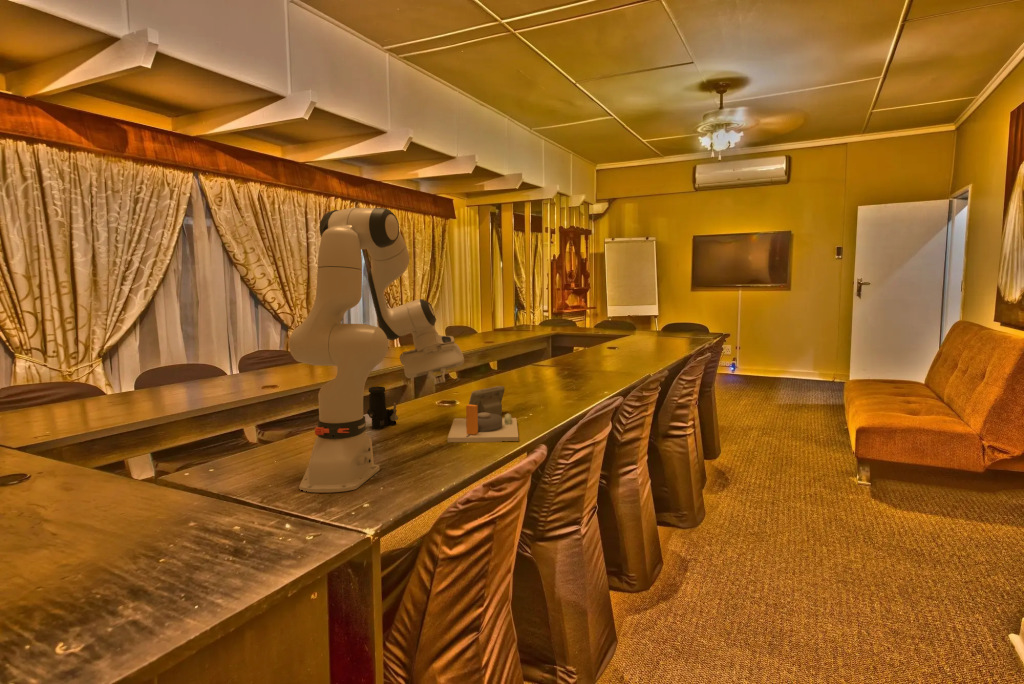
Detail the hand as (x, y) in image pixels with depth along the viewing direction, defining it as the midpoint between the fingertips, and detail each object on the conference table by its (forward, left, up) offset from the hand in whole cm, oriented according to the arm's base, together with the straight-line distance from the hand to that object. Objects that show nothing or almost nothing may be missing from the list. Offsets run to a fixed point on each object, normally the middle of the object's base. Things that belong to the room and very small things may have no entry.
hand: (440, 382), depth 180 cm
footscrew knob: (-2, -14, -15) cm, 20 cm away
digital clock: (+21, -14, -17) cm, 31 cm away
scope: (+7, +22, -17) cm, 28 cm away
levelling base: (0, -14, -16) cm, 22 cm away
